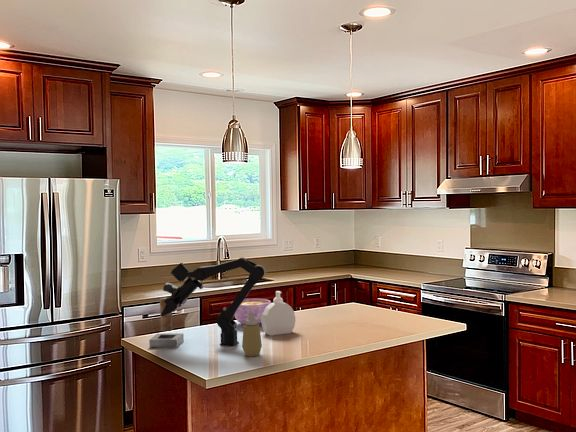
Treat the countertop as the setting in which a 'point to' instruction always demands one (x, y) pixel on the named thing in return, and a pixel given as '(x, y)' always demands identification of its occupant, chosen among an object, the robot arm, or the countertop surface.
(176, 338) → the socket block
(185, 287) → the robot arm
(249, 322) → the squeeze bottle
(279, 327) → the soap bottle
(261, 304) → the bowl of food
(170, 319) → the walnut peg
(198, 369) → the countertop surface
